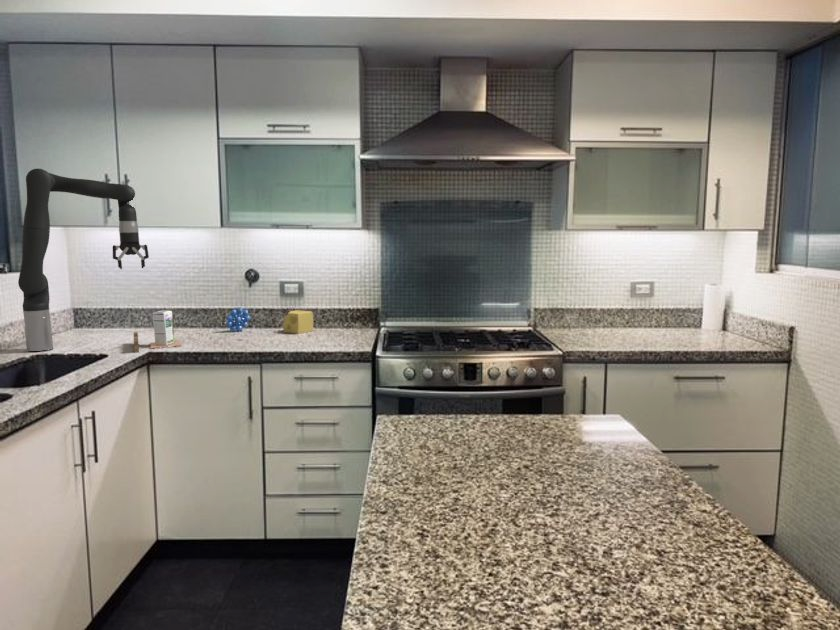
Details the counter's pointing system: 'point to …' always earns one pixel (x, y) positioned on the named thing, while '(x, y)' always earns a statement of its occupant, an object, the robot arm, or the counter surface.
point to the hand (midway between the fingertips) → (131, 268)
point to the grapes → (238, 319)
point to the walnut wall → (136, 342)
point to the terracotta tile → (176, 343)
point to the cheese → (298, 322)
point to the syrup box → (163, 327)
